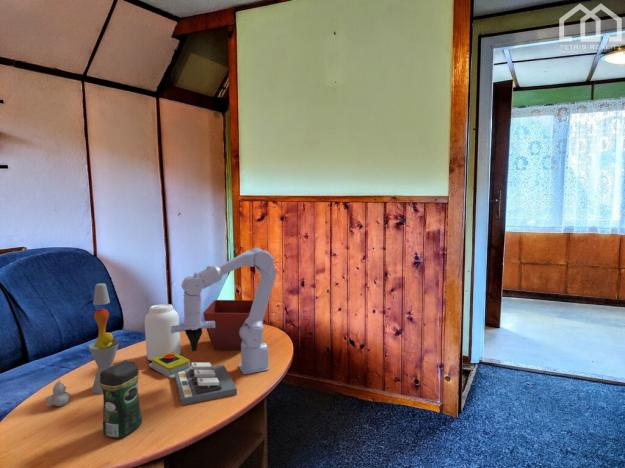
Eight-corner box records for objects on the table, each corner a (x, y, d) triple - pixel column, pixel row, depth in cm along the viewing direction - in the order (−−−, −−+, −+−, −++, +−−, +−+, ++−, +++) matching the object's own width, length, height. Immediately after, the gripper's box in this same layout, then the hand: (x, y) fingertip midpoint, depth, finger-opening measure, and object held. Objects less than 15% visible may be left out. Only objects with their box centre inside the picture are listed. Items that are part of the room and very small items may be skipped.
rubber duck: (73, 403, 131) (72, 378, 130) (50, 413, 126) (48, 387, 125) (65, 398, 134) (63, 374, 133) (42, 407, 129) (40, 382, 128)
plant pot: (251, 354, 170) (250, 312, 168) (203, 353, 170) (202, 312, 168) (258, 337, 189) (257, 299, 187) (215, 336, 189) (214, 299, 187)
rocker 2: (212, 372, 145) (213, 369, 145) (214, 376, 142) (215, 373, 142) (193, 372, 142) (194, 369, 142) (195, 377, 139) (195, 373, 139)
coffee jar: (124, 417, 123) (121, 356, 121) (146, 423, 120) (143, 360, 118) (97, 436, 114) (93, 369, 112) (120, 442, 111) (116, 374, 109)
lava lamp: (84, 391, 139) (78, 286, 135) (106, 379, 147) (101, 280, 143) (106, 396, 136) (100, 288, 132) (127, 383, 144) (122, 282, 140)
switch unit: (223, 369, 155) (223, 360, 155) (237, 394, 137) (236, 383, 136) (174, 378, 148) (174, 368, 148) (181, 405, 130) (181, 393, 130)
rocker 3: (216, 380, 139) (217, 377, 139) (218, 385, 136) (219, 381, 136) (196, 380, 136) (197, 377, 136) (198, 385, 133) (199, 382, 133)
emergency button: (170, 347, 163) (194, 358, 154) (170, 357, 164) (194, 370, 155) (148, 354, 156) (172, 367, 147) (148, 365, 157) (172, 379, 147)
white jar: (160, 363, 157) (157, 310, 156) (140, 358, 164) (136, 307, 163) (187, 353, 168) (184, 303, 167) (167, 349, 175) (164, 301, 174)
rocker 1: (209, 365, 151) (209, 362, 151) (211, 369, 148) (211, 366, 148) (191, 365, 148) (191, 362, 148) (192, 369, 145) (193, 366, 145)
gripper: (171, 317, 138) (173, 357, 140) (216, 312, 144) (217, 351, 146) (169, 311, 145) (171, 350, 146) (212, 306, 151) (213, 344, 152)
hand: (194, 350), depth 146 cm, fingers closed
